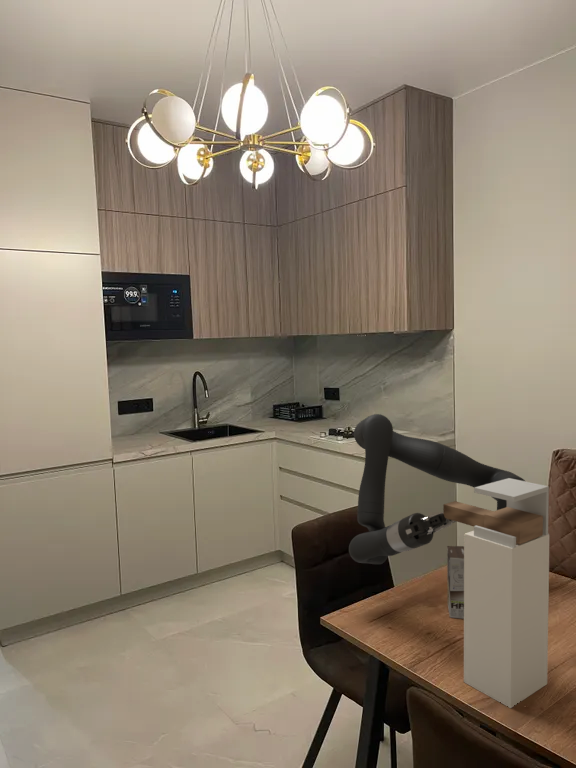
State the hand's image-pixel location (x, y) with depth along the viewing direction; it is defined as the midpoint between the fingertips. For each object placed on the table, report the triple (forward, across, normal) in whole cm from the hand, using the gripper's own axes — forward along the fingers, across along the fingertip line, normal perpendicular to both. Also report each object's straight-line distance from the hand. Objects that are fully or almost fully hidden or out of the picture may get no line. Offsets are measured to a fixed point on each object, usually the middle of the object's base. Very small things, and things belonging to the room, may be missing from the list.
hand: (456, 513), depth 129 cm
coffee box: (-29, +19, +22) cm, 41 cm away
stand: (-6, 0, +35) cm, 35 cm away
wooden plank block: (+6, 0, +5) cm, 8 cm away
